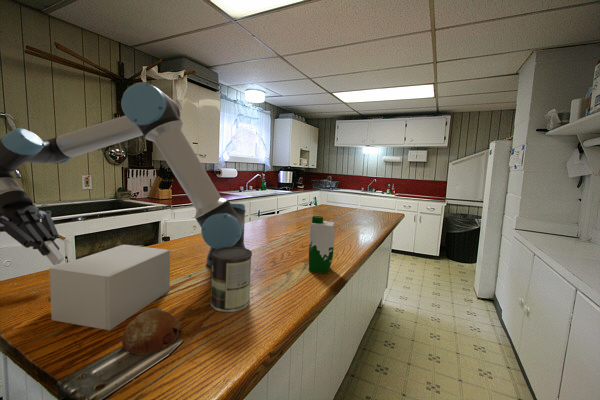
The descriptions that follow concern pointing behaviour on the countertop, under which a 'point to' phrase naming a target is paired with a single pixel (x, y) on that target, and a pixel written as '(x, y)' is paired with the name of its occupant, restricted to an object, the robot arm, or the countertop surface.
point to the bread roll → (151, 332)
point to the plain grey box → (108, 285)
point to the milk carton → (321, 245)
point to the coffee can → (230, 278)
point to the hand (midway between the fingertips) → (59, 261)
